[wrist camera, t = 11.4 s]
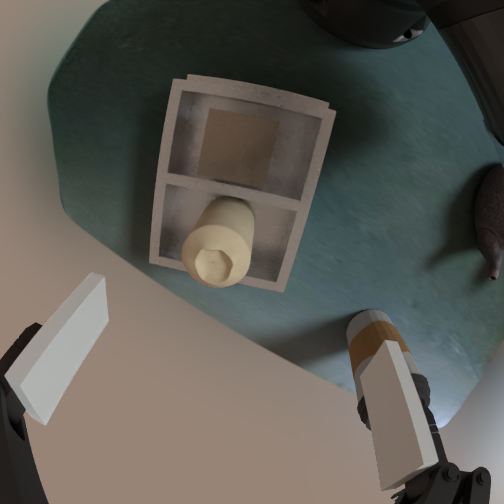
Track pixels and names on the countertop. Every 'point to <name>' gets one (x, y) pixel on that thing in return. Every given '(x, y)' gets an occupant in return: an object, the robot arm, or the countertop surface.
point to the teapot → (491, 220)
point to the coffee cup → (366, 346)
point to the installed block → (237, 147)
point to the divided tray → (258, 199)
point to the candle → (220, 243)
